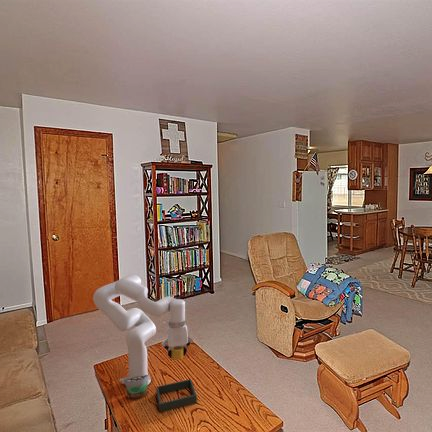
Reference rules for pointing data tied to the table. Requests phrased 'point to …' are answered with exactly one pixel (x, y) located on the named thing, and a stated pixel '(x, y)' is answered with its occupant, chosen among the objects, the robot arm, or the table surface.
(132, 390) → the food container
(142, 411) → the table surface
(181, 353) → the tape roll
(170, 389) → the dark green rectangular frame
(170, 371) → the table surface
